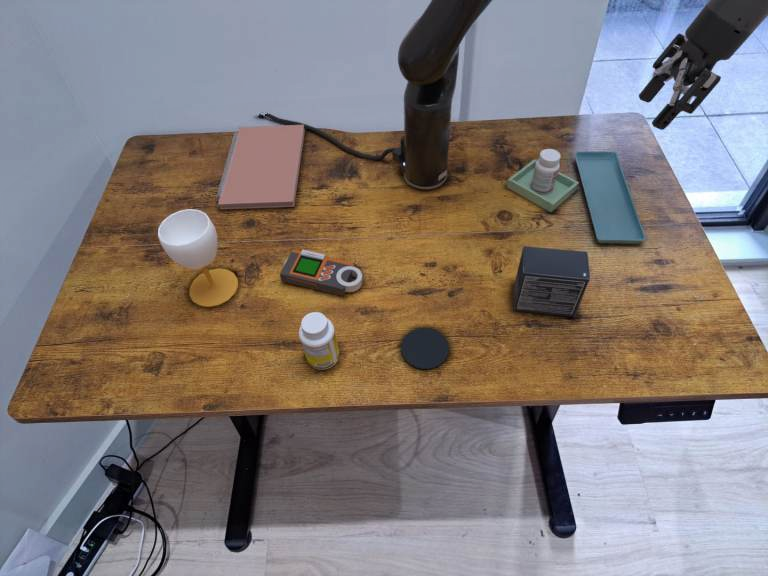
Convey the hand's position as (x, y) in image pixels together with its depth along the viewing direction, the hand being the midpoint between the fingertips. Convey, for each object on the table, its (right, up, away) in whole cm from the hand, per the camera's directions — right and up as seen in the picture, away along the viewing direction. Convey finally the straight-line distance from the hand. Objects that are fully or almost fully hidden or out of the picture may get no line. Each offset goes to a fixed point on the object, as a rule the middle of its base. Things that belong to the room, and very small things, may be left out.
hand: (649, 113), depth 84 cm
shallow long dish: (+2, -11, +21) cm, 24 cm away
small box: (-16, -31, +7) cm, 35 cm away
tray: (-10, -8, +24) cm, 27 cm away
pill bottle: (-10, -8, +24) cm, 27 cm away
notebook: (-71, -1, +33) cm, 78 cm away
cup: (-76, -29, +11) cm, 82 cm away
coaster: (-37, -39, +1) cm, 54 cm away
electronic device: (-55, -27, +12) cm, 62 cm away
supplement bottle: (-54, -40, +1) cm, 67 cm away
